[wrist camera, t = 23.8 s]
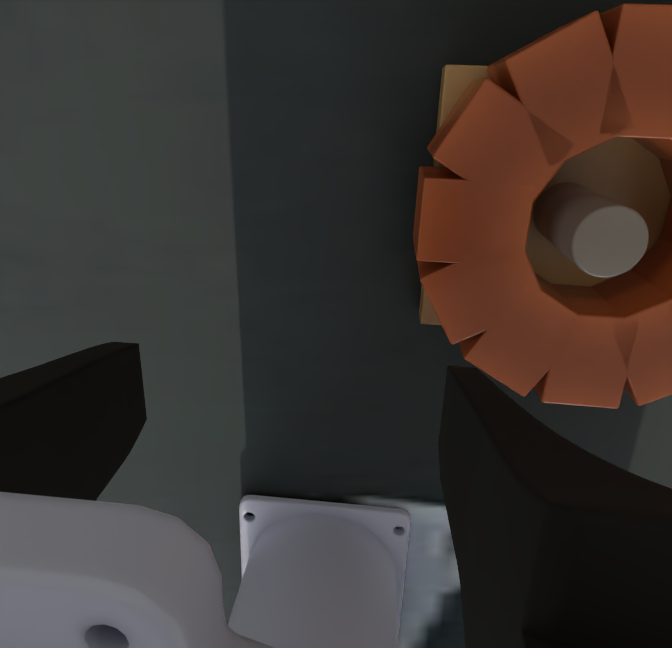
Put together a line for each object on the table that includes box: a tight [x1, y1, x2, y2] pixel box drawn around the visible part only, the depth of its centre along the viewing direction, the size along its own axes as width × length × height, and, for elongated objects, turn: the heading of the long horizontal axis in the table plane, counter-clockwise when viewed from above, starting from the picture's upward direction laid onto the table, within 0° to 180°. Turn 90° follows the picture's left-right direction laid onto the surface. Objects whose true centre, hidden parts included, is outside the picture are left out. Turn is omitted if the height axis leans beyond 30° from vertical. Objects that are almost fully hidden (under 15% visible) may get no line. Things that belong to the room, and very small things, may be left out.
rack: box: [419, 65, 671, 325], centre depth 18 cm, size 9×9×6 cm
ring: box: [413, 3, 672, 409], centre depth 18 cm, size 12×12×3 cm
